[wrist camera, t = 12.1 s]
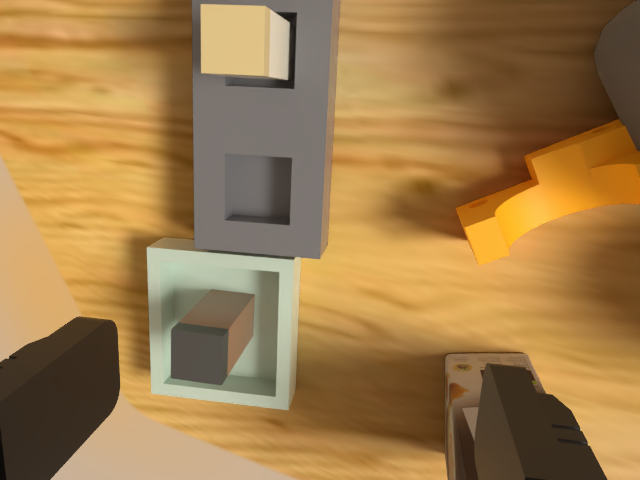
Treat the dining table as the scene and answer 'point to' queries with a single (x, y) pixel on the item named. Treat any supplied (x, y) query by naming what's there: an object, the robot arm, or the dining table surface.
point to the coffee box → (470, 405)
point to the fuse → (246, 42)
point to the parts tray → (269, 319)
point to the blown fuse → (212, 337)
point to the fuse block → (267, 142)
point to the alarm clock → (622, 66)
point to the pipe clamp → (556, 189)
